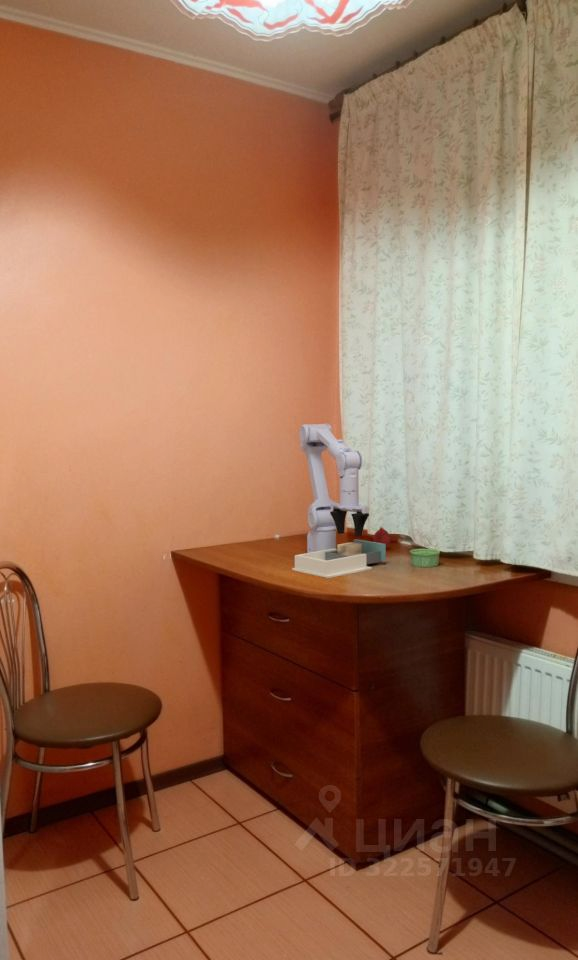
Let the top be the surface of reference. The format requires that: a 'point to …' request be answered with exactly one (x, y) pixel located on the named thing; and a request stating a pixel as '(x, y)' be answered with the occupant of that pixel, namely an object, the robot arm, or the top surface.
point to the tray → (364, 552)
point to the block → (349, 549)
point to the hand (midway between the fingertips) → (349, 534)
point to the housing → (329, 564)
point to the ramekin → (424, 557)
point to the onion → (382, 537)
